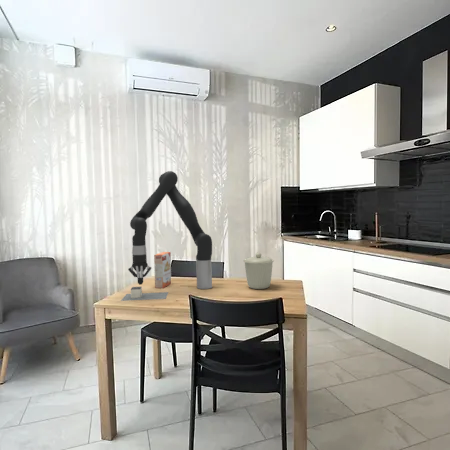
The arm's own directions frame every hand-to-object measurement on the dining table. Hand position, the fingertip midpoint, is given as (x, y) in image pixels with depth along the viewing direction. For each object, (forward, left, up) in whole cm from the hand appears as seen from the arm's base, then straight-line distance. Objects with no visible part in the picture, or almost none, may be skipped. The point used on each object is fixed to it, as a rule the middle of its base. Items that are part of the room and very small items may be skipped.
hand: (140, 284), depth 183 cm
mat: (-3, 0, -7) cm, 8 cm away
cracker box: (-10, -25, -7) cm, 28 cm away
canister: (-69, -11, -7) cm, 70 cm away
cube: (+2, 0, -2) cm, 3 cm away
